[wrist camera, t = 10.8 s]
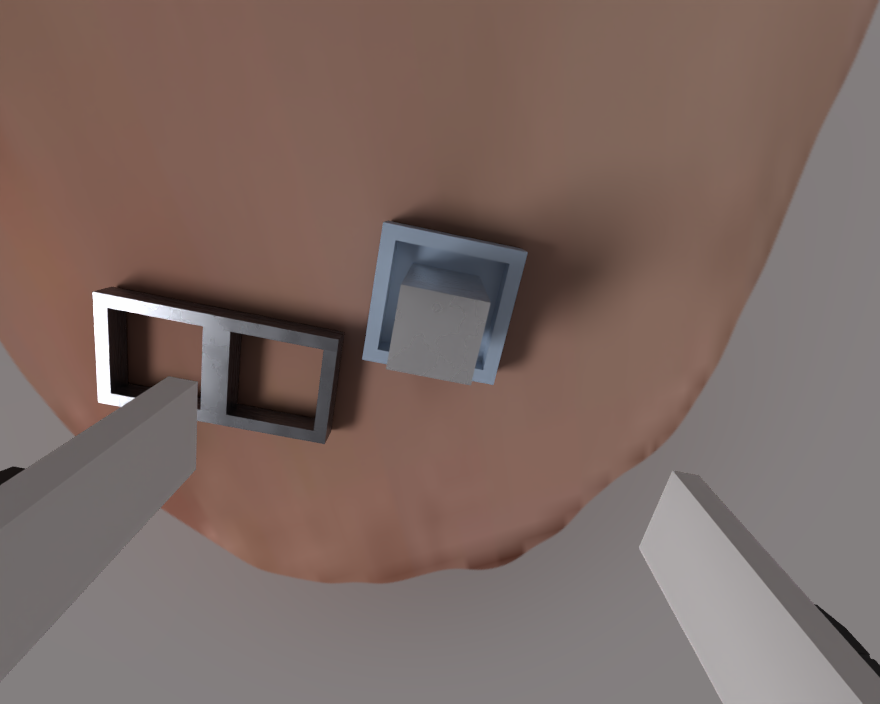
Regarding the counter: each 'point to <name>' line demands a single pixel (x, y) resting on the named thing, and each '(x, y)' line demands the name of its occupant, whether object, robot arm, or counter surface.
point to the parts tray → (452, 253)
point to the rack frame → (214, 360)
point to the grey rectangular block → (438, 324)
